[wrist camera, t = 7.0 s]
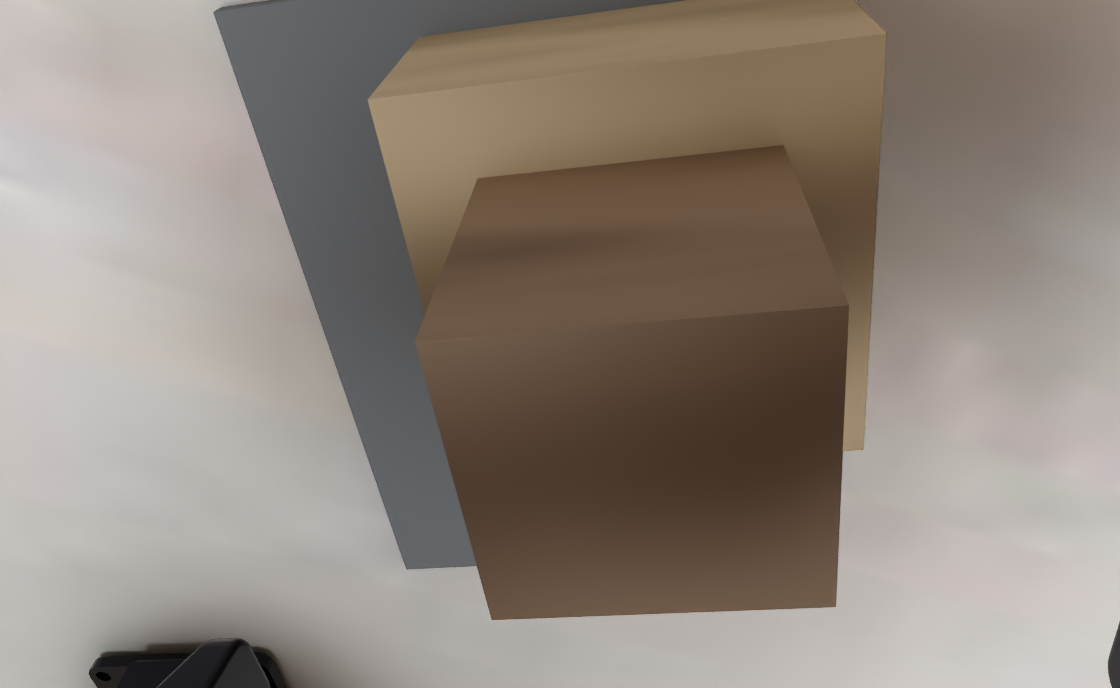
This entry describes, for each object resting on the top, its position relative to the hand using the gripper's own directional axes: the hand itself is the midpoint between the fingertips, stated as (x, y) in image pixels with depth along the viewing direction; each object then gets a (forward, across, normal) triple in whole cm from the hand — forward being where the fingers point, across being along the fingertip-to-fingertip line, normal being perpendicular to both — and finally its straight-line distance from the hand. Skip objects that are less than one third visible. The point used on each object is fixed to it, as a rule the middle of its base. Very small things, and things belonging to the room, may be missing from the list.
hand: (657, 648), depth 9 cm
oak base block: (+12, 0, 0) cm, 12 cm away
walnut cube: (+8, 0, 0) cm, 8 cm away
